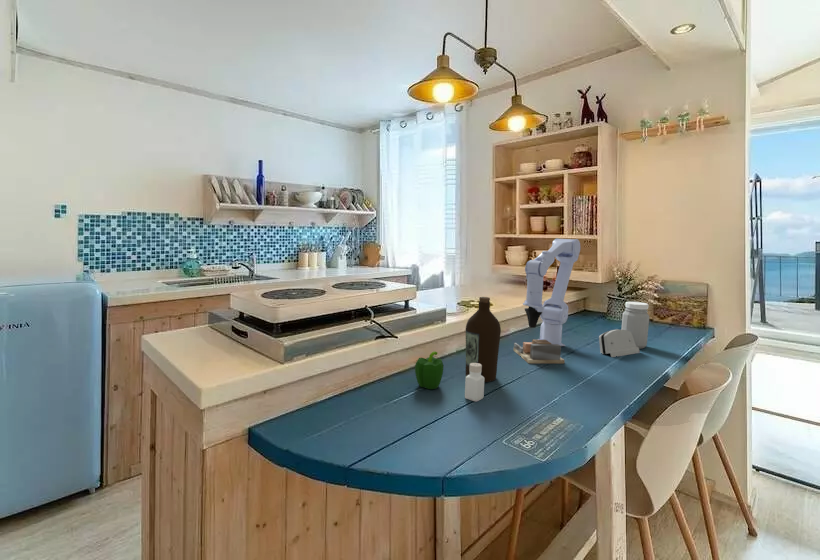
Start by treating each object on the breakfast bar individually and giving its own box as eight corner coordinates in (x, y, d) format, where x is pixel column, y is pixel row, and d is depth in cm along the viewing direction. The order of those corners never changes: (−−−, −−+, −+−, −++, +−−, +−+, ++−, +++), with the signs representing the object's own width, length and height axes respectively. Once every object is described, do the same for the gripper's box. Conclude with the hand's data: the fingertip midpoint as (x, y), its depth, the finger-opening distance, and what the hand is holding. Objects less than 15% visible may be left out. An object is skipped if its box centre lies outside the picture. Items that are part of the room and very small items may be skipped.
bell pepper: (422, 393, 116) (423, 358, 115) (410, 383, 124) (411, 350, 123) (448, 389, 120) (450, 355, 118) (435, 380, 127) (437, 347, 126)
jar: (622, 341, 182) (625, 300, 180) (647, 345, 176) (652, 303, 174) (617, 346, 174) (621, 303, 172) (644, 350, 168) (649, 306, 166)
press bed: (513, 350, 162) (514, 334, 162) (546, 350, 164) (547, 334, 163) (528, 363, 147) (529, 345, 146) (564, 363, 148) (565, 346, 147)
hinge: (611, 357, 157) (605, 330, 159) (601, 358, 161) (595, 332, 163) (640, 352, 165) (634, 327, 167) (629, 353, 169) (624, 328, 171)
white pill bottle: (476, 402, 111) (477, 367, 110) (463, 398, 113) (465, 364, 112) (484, 398, 114) (486, 364, 113) (471, 394, 116) (473, 361, 115)
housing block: (531, 352, 154) (532, 339, 154) (544, 352, 155) (545, 339, 154) (536, 356, 149) (537, 343, 149) (550, 356, 150) (551, 343, 149)
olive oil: (485, 370, 138) (489, 294, 135) (505, 380, 128) (509, 299, 126) (457, 373, 134) (460, 295, 131) (475, 385, 124) (479, 301, 121)
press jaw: (522, 350, 157) (523, 342, 156) (548, 350, 157) (549, 342, 157) (525, 352, 154) (525, 344, 154) (551, 352, 155) (552, 344, 155)
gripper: (517, 289, 166) (515, 323, 168) (531, 294, 152) (528, 331, 153) (535, 289, 167) (533, 323, 168) (550, 295, 152) (547, 331, 154)
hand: (532, 327), depth 161 cm, fingers closed
